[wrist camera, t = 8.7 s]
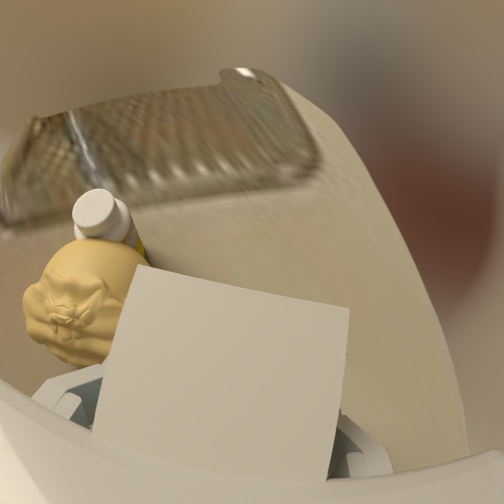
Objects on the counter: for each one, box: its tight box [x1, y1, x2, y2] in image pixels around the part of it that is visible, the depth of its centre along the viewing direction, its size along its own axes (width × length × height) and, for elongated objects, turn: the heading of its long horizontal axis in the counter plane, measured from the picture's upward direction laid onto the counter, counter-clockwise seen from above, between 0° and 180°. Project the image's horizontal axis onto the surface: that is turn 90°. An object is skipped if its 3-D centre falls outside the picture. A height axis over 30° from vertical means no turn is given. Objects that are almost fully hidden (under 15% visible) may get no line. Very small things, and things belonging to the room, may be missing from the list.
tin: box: [92, 264, 349, 482], centre depth 10 cm, size 5×5×10 cm
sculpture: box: [23, 237, 150, 369], centre depth 22 cm, size 11×12×11 cm
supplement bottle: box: [72, 189, 145, 259], centre depth 25 cm, size 6×6×10 cm
